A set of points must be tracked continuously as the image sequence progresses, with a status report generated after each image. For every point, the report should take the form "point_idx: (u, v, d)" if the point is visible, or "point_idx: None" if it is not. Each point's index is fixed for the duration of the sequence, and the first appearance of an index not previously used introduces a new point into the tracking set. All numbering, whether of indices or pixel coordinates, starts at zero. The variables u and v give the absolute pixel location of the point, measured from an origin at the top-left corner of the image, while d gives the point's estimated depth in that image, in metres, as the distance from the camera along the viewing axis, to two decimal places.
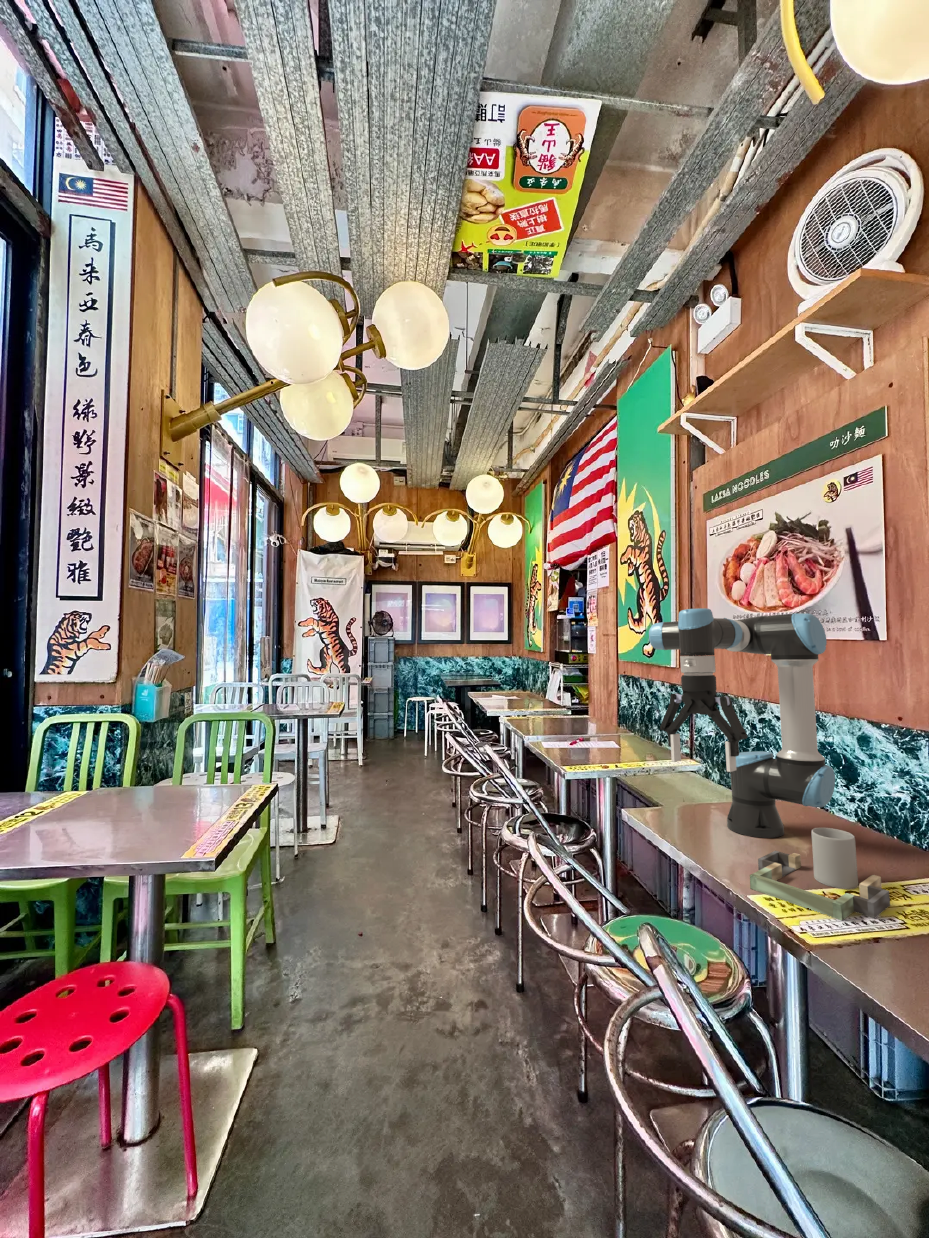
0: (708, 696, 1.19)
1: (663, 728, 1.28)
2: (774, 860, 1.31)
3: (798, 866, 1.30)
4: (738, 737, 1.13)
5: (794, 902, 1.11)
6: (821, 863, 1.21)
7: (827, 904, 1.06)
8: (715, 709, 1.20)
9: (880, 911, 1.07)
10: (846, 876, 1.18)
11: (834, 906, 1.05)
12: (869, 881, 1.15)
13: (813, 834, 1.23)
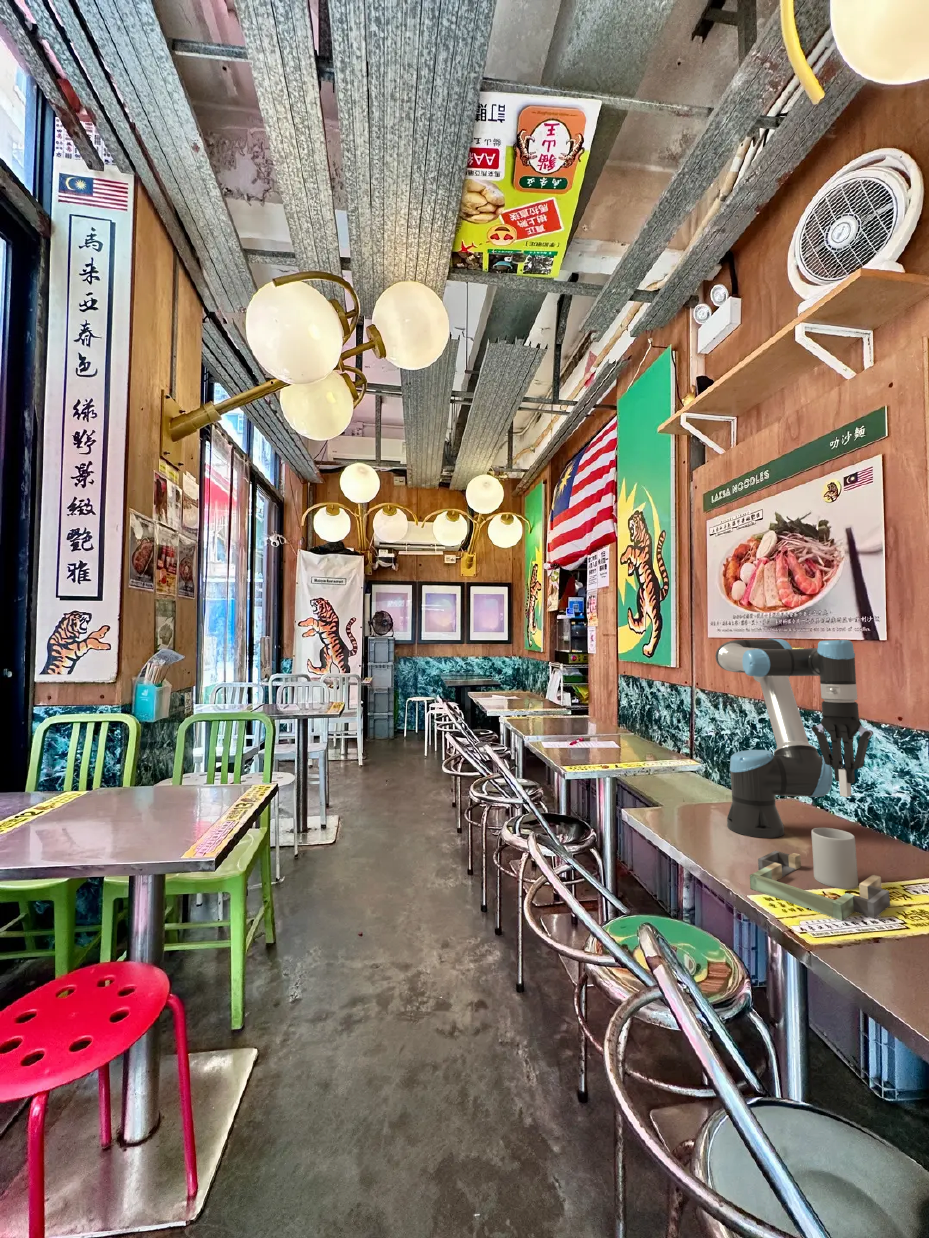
0: (855, 722, 1.28)
1: (829, 761, 1.33)
2: (774, 860, 1.31)
3: (798, 866, 1.30)
4: (855, 766, 1.28)
5: (794, 902, 1.11)
6: (821, 863, 1.21)
7: (827, 904, 1.06)
8: None
9: (880, 911, 1.07)
10: (846, 876, 1.18)
11: (834, 906, 1.05)
12: (869, 881, 1.15)
13: (813, 834, 1.23)
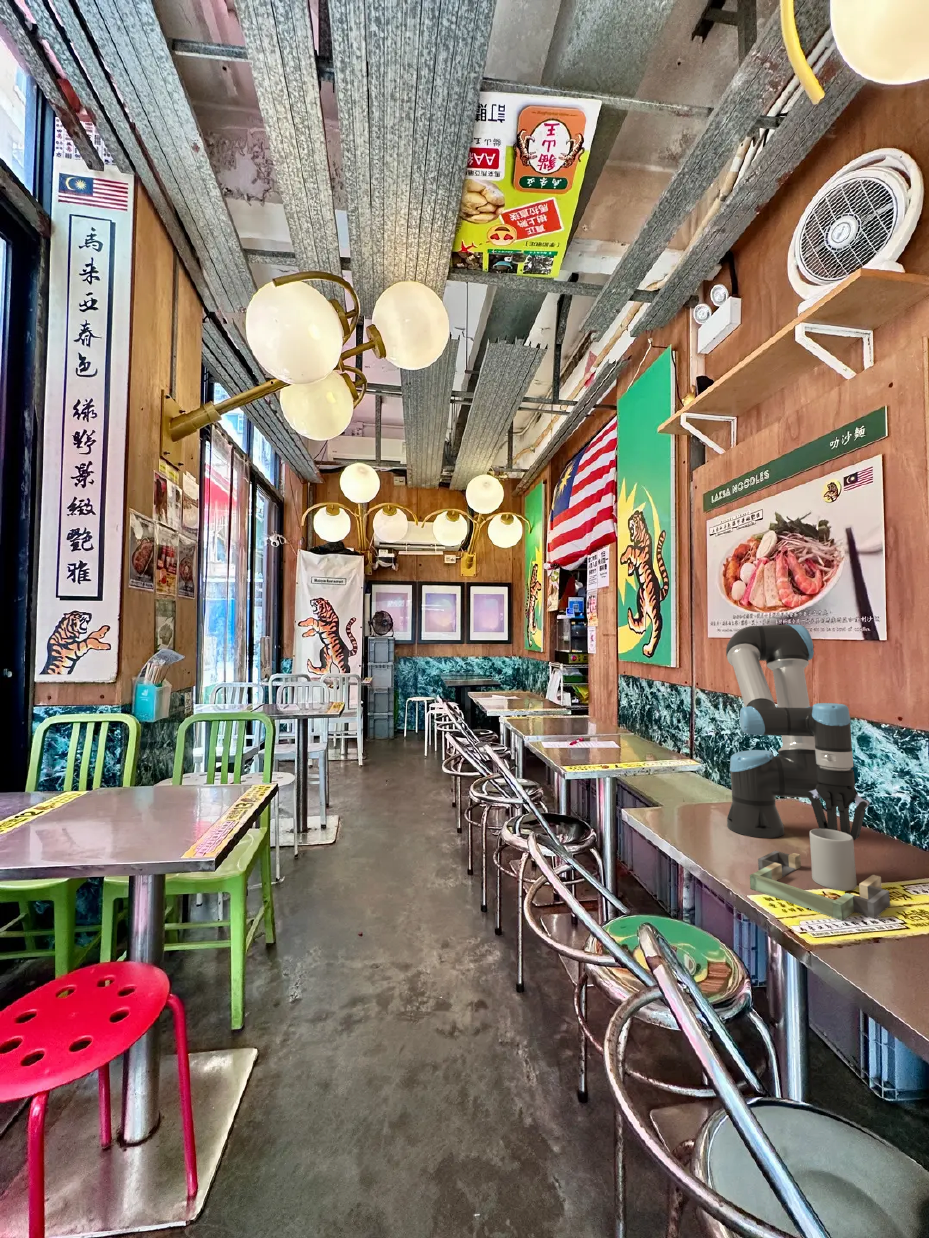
0: (851, 791, 1.24)
1: None
2: (774, 860, 1.31)
3: (798, 866, 1.30)
4: None
5: (794, 902, 1.11)
6: (820, 864, 1.20)
7: (827, 904, 1.06)
8: None
9: (880, 911, 1.07)
10: (845, 877, 1.17)
11: (834, 906, 1.05)
12: (869, 881, 1.15)
13: (812, 835, 1.22)
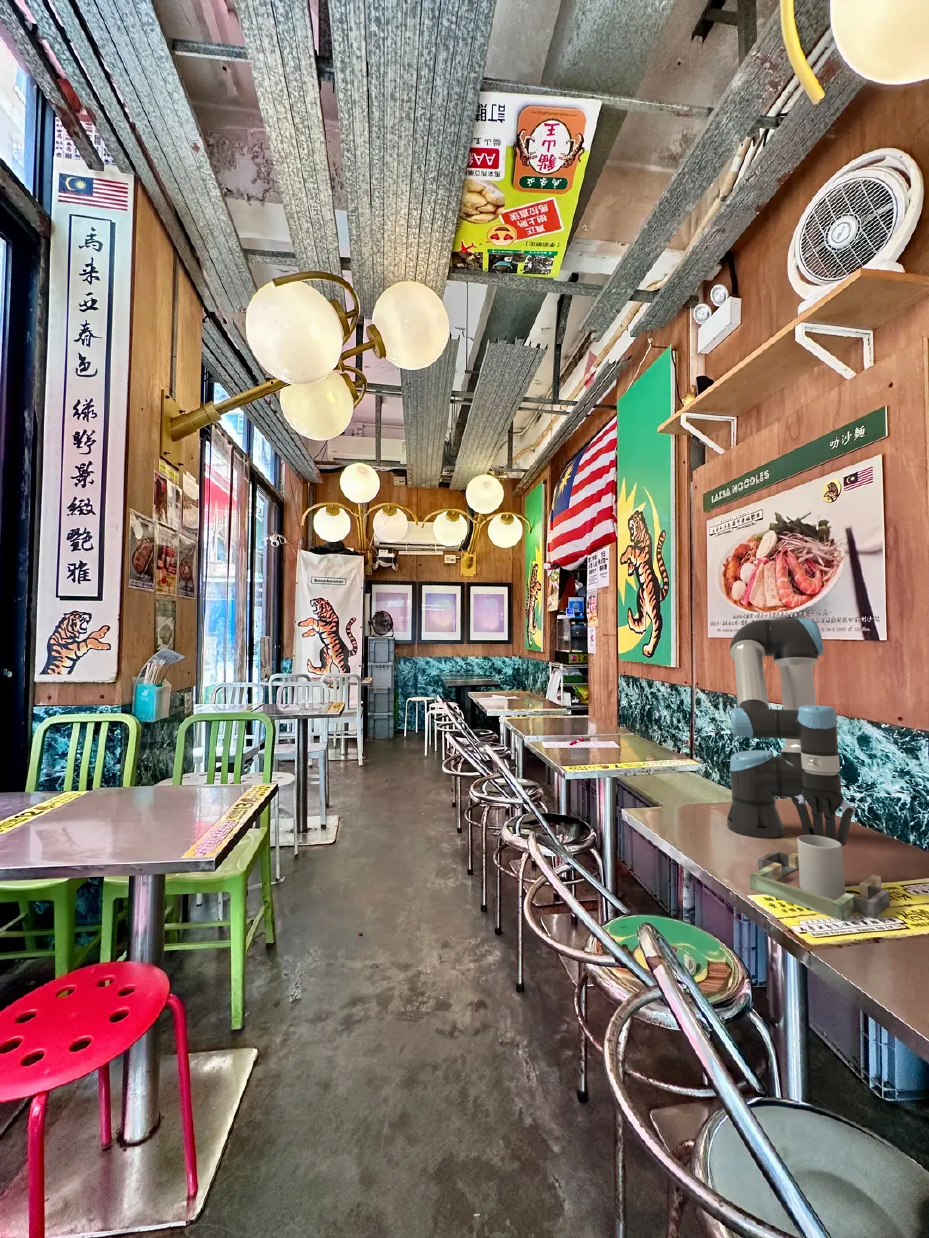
0: (837, 797, 1.19)
1: None
2: (774, 860, 1.31)
3: (798, 866, 1.30)
4: None
5: (794, 902, 1.11)
6: (814, 874, 1.15)
7: (827, 904, 1.06)
8: None
9: (880, 911, 1.07)
10: (838, 886, 1.13)
11: (834, 906, 1.05)
12: (869, 881, 1.15)
13: (803, 844, 1.17)
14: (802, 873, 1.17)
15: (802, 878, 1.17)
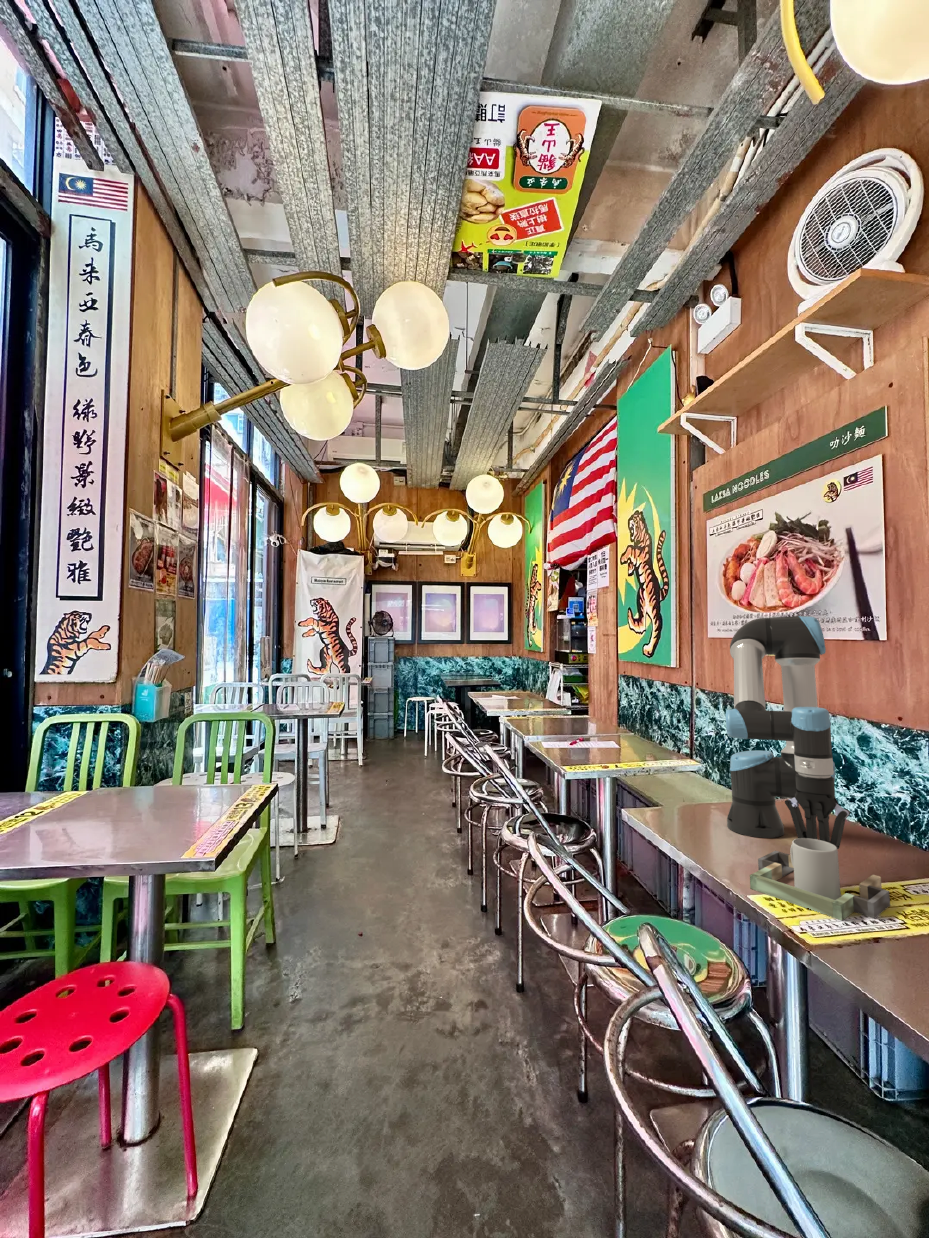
0: (830, 800, 1.18)
1: None
2: (774, 860, 1.31)
3: None
4: None
5: (794, 902, 1.11)
6: (811, 879, 1.13)
7: (827, 904, 1.06)
8: None
9: (880, 911, 1.07)
10: (835, 890, 1.11)
11: (834, 906, 1.05)
12: (869, 881, 1.15)
13: (799, 848, 1.15)
14: (798, 878, 1.15)
15: (798, 883, 1.15)
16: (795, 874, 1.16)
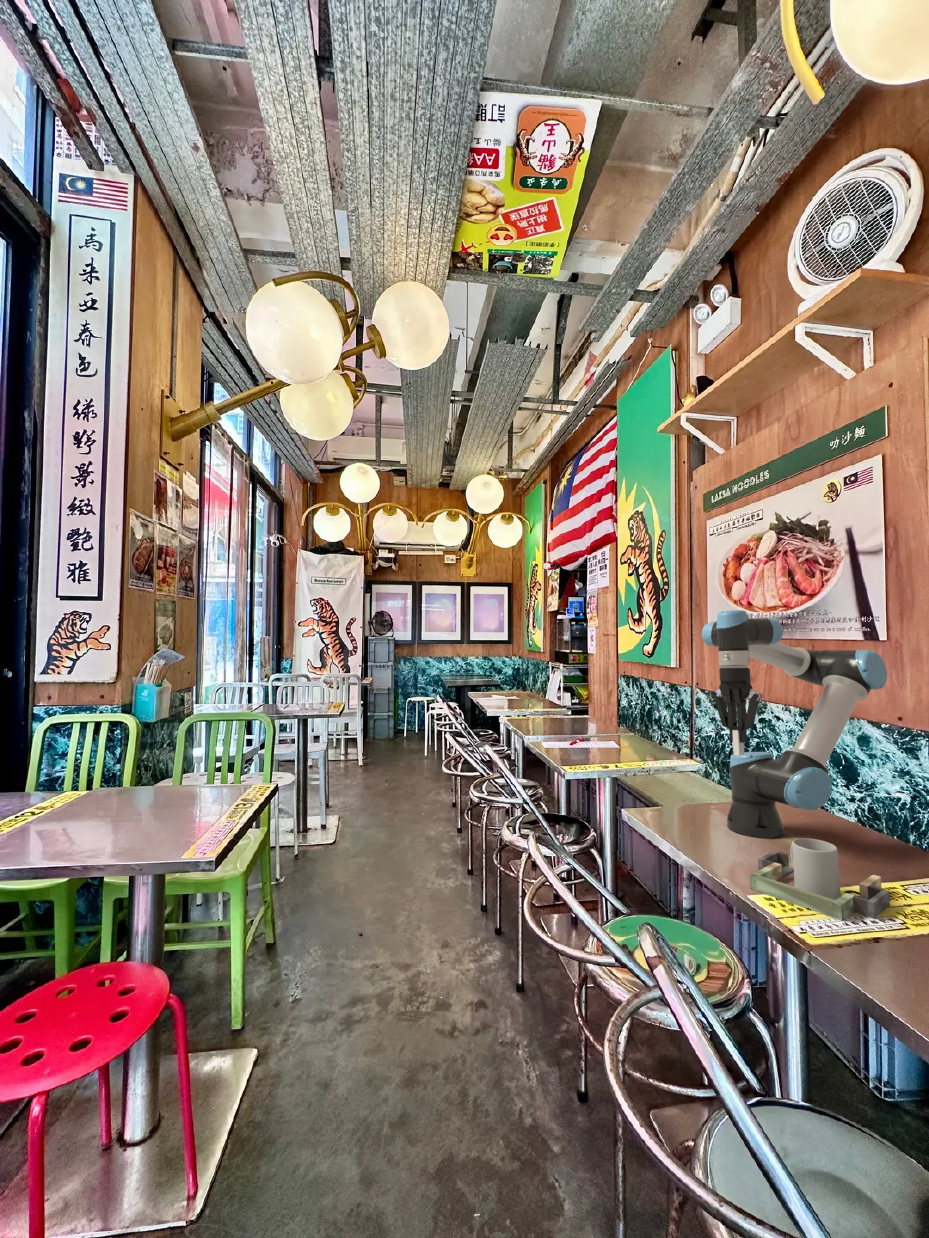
0: (746, 686, 1.38)
1: (725, 723, 1.43)
2: (774, 860, 1.31)
3: None
4: (746, 726, 1.38)
5: (794, 902, 1.11)
6: (811, 879, 1.13)
7: (827, 904, 1.06)
8: None
9: (880, 911, 1.07)
10: (835, 890, 1.11)
11: (834, 906, 1.05)
12: (869, 881, 1.15)
13: (799, 848, 1.15)
14: (798, 878, 1.15)
15: (798, 883, 1.15)
16: (795, 874, 1.16)
